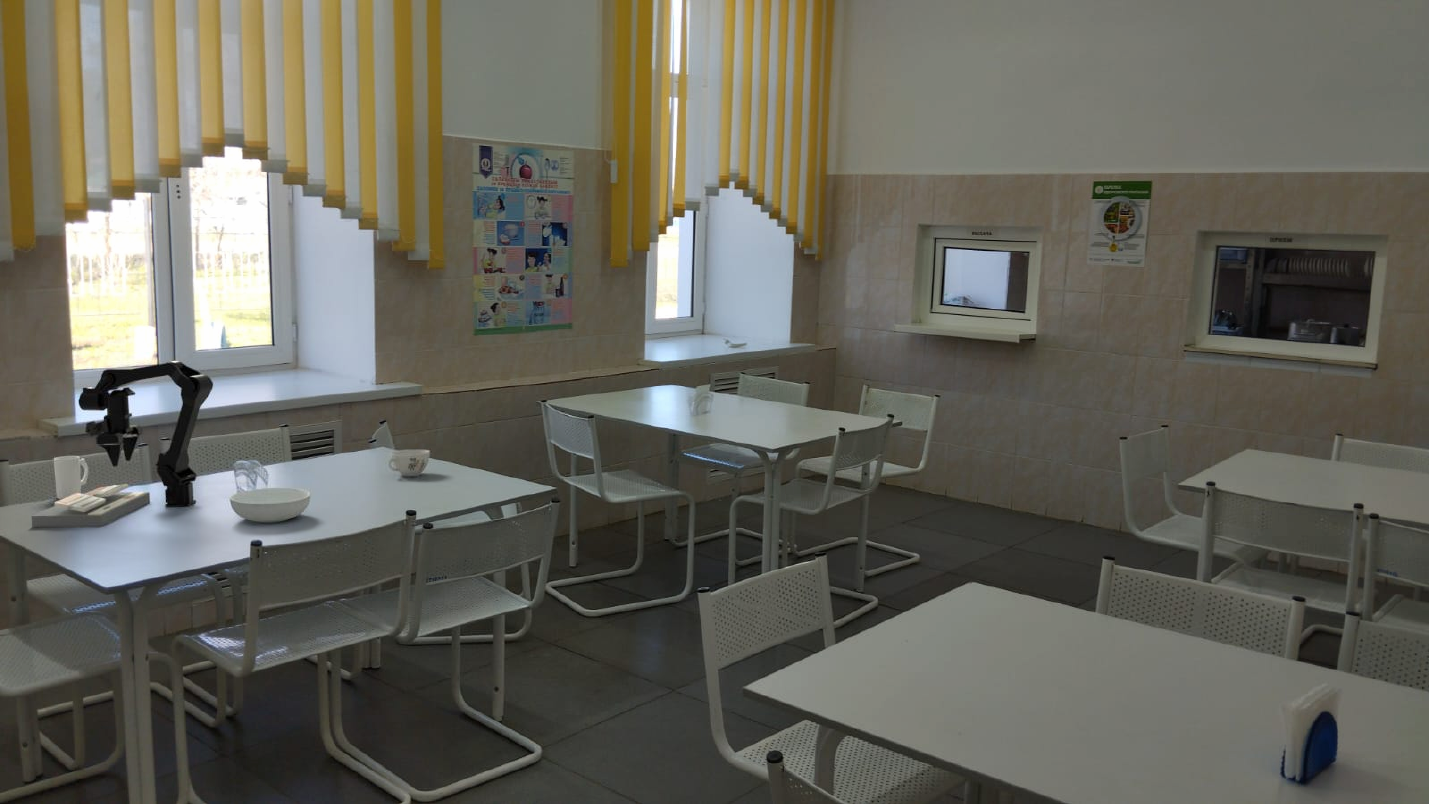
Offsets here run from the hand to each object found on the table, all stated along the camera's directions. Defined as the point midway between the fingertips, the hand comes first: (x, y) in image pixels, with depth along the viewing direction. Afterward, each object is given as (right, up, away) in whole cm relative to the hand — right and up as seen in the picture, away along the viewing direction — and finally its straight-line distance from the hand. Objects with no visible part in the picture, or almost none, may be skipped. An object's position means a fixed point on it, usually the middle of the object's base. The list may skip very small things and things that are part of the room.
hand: (121, 463), depth 329 cm
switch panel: (-1, -13, -14) cm, 19 cm away
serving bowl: (+51, -15, -17) cm, 56 cm away
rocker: (0, -10, -21) cm, 23 cm away
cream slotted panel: (-1, -8, -7) cm, 11 cm away
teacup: (+72, -7, +46) cm, 85 cm away
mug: (-19, -11, +9) cm, 24 cm away
